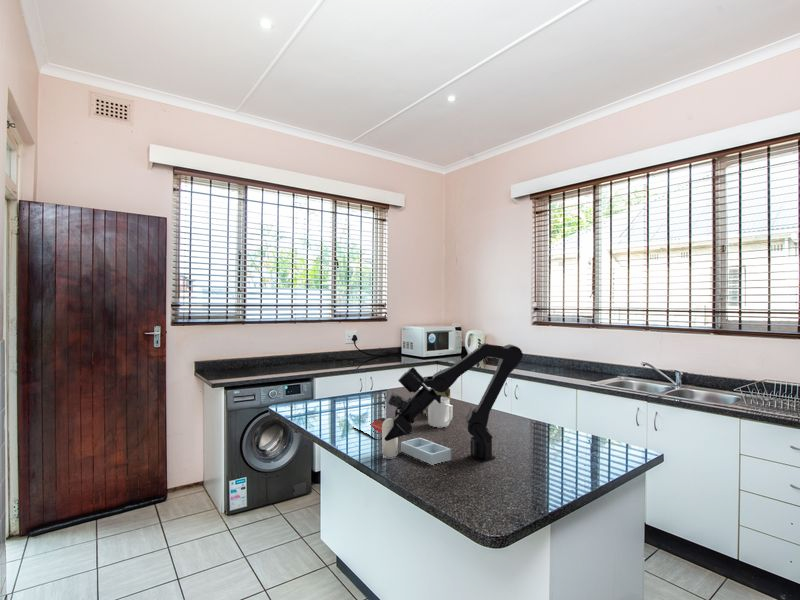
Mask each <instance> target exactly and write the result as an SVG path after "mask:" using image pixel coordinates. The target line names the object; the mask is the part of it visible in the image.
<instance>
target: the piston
mask: <svg viewBox="0 0 800 600" xmlns="http://www.w3.org/2000/svg"><path fill="white" fill-rule="evenodd" d="M432 389H433V390H434V388H432ZM434 391H435V390H434ZM435 392H436V393H437V394H441V397H446V398H449V404H450V403H451V388H450V387H449V388H448V390H446V391H445V392H437V391H435ZM424 411H425V412H424V413H425V414H426V415H427V416H428V407H427V408H426V409H425V410H424ZM449 418H450V407H449Z"/></svg>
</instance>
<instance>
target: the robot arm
mask: <svg viewBox="0 0 800 600" xmlns="http://www.w3.org/2000/svg"><path fill="white" fill-rule="evenodd" d="M523 356H524V354H523V351H522V349H521V348H520V347H518V346H516V345H514V344H506V345H504V346H503V345H496V344H489V343H485V342H484V343H481V344H480V345H479V346H478V347H477V348H475V349H474V350H472V351H471V352H470V353H469V354H467V355H466V356H465V357H463V358H461V359H460V360H458V361H457V362H456V363H454V364H453V365H451V366H449V367H447V368H444V369H442V370H440V371H438V372H435V373H434V374H433V375H428V376H422V375H421V374H420V373H419V371H417V369H416V368H415V367H414V366H412V367H411V368H409V369H407V371H405V372H404V373H403V374H402V375H401V376H400V378H398V382H399V383H400V384H401V385H402V386H403V387H404V388H405V390H407V392H409V393H416V394H414V395H413V396H412V397H409V398H405V397H403V396H401V395H399V394H397V393H395V392H391V395H390V397H389V399H388V402H387V404H388V405H390V406H393V407H396V408H395V410H394V412H395V413H394V418H393V419H394V420H393V427H392V428H391V430H390V431H389V433H388V434H387V435H386V437H385V438H384V439H385V440H386V441H389V440H391V439H394V438H397V437H398V438H399V437H403V436H406V435H409V434H411V433H410V432H411V431H413V424H414V423H415V421H416V419H417V418H418V417H419V416H420V415H424V413H425V412H424V411H425V409H426V408H427V407H428V406H429V405H430V404H431V403H432V402H433V401H434V400H436V401H437V402H438V403H439V404H440V403H441V394H437V393H436V392H435V391H437V392H445V391H446V390H448V388H449V389H450V388H451V387H452V385H453V384H454V383H456V381H457V380H458V378H459V377H461V376H462V375H464V374H466V372H468V371H469V370H471V369H472V368H473V367H475V366H477V364H479V363H481V361H483V360H484V359H486V358H488V357H492V358H496V359H498V363H497V367H496V370H495V372H494V374H493V376H491V379H490V381H489V384H488V385H487V388H486V389H485V391H484V393H483V395H482V396H481V399H480V401H479V403H478V404H477V406H476V407H475V408H473V407H472V406H470V407H469V410H468V413H467V414H466V416H465V417H464V418H465V426H466V429H467V431H468V433H469V434H470V435H471V438H470V454H468V455H467V457H468V458H470V459H473V460H476V461H478V462H481V463H484V462H487V461H490V460H493V459H495V458H496V456H495V455H494V454H493V436H492V433H491V432H490V430H489V428H488V427H487V426H488V424H489V418H490V412H491V410H492V408H493V406H494V404H495V403H496V401H497V398H498V396H499V394H500V393H501V390H502V389H503V387H504V385H505V383H506V381H507V379H508V377H509V375H510V374H511V373H512V372H513V371H515V369H516V368H517V367H518V366H519V364H520V363H521V362H522V361H523V358H524V357H523ZM432 388H434V390H435V391H434V390H433V389H432Z"/></svg>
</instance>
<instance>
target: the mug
mask: <svg viewBox="0 0 800 600" xmlns="http://www.w3.org/2000/svg"><path fill="white" fill-rule="evenodd" d="M449 407H450V417H449ZM453 409H454V406H453V405H452V404H450V403H449V398H446V397H441V403H440V404H439V403H438V402H437V401H436V400H434V401H433V402H432V403H431V404H430V405H429V406H428V417H427V424H428V425H429V426H430V427H431V426H433V427H432V428H434V427H437V428H436V429H444V428H443V427H445V428H447V427H448V426H449V424H450V422H451V421H452V420H453V416H454V414H453V412H454V411H453Z"/></svg>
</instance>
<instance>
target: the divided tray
mask: <svg viewBox="0 0 800 600" xmlns="http://www.w3.org/2000/svg"><path fill="white" fill-rule="evenodd" d="M401 451H403V452H405V453H407V454H409V455H411V456H413V457H415V458H418V459H420V460H422V461H424V462H427V463H429V464H431V465H433V466H435V465H434V464H437V463H440V464H442V463H441V462H443V463H446V462H449V461H452V448H449V447H446V446H444V445H441V444H438V443H435V442H433V441H431V440H427V439H424V438H423V437H416V438H413V439H412V438H411V439H408V440H404V441H401V442H400V452H401ZM415 458H414V459H415ZM422 461H421V462H422ZM445 461H446V462H445ZM424 462H423V463H424ZM429 464H428V465H429ZM431 465H430V466H431ZM437 465H438V464H437Z"/></svg>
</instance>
